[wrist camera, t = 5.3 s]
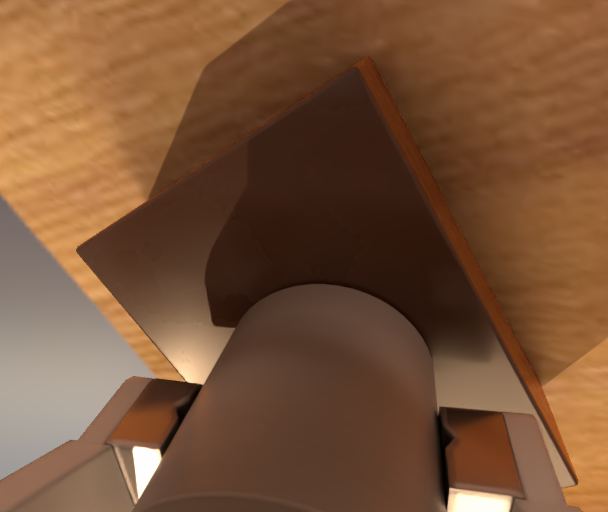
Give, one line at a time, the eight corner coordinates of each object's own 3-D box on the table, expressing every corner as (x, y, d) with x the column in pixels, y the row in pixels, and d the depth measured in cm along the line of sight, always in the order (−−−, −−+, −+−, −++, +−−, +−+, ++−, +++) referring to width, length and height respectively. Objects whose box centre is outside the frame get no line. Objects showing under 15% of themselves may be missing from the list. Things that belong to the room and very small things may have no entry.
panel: (144, 202, 12) (72, 250, 9) (369, 54, 9) (356, 64, 7) (329, 447, 15) (313, 535, 12) (542, 389, 12) (580, 486, 10)
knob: (244, 432, 11) (145, 681, 7) (217, 278, 9) (55, 494, 5) (427, 454, 10) (444, 758, 6) (442, 288, 8) (484, 566, 4)
